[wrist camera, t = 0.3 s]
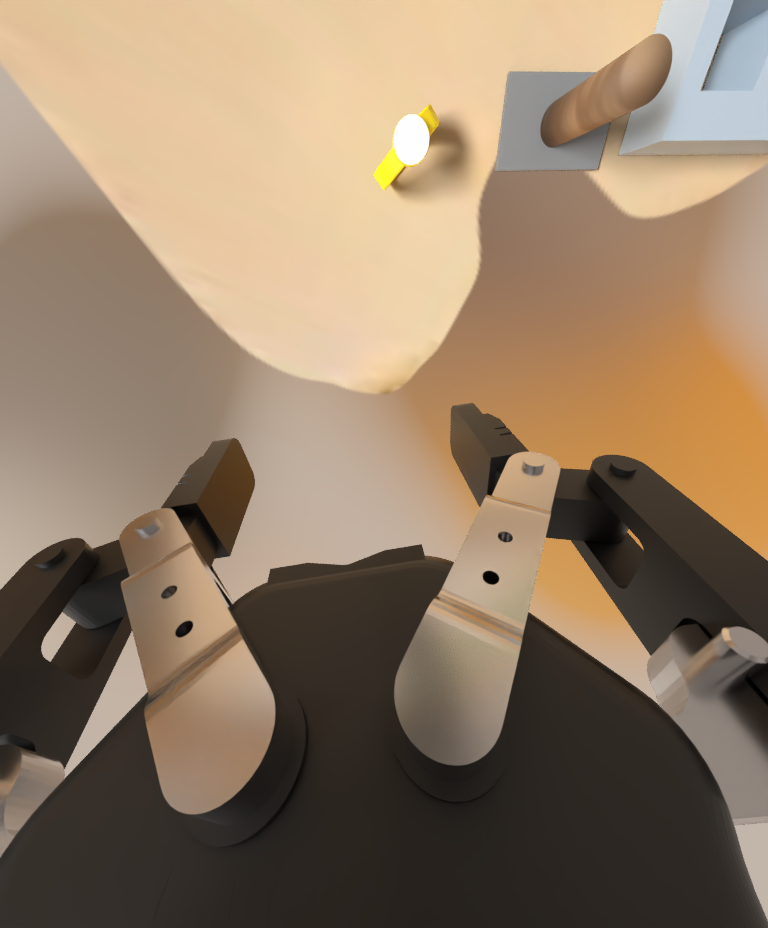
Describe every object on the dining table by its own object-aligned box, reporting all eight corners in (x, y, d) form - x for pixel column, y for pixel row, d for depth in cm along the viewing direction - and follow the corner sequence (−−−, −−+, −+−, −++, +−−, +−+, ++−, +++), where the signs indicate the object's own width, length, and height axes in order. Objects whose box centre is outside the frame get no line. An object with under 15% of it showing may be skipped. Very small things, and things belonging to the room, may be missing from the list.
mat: (507, 73, 26) (509, 71, 26) (620, 74, 27) (623, 72, 26) (494, 171, 29) (496, 170, 29) (594, 170, 30) (597, 169, 30)
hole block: (670, -25, 24) (738, -81, 20) (853, -18, 25) (952, -69, 21) (618, 155, 30) (662, 140, 26) (769, 154, 31) (834, 139, 27)
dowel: (545, 98, 27) (635, 33, 19) (578, 99, 27) (681, 34, 19) (536, 147, 28) (615, 107, 20) (567, 147, 29) (658, 107, 20)
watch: (387, 200, 30) (392, 196, 25) (367, 171, 29) (368, 160, 24) (437, 141, 28) (453, 124, 23) (418, 106, 26) (430, 80, 22)
